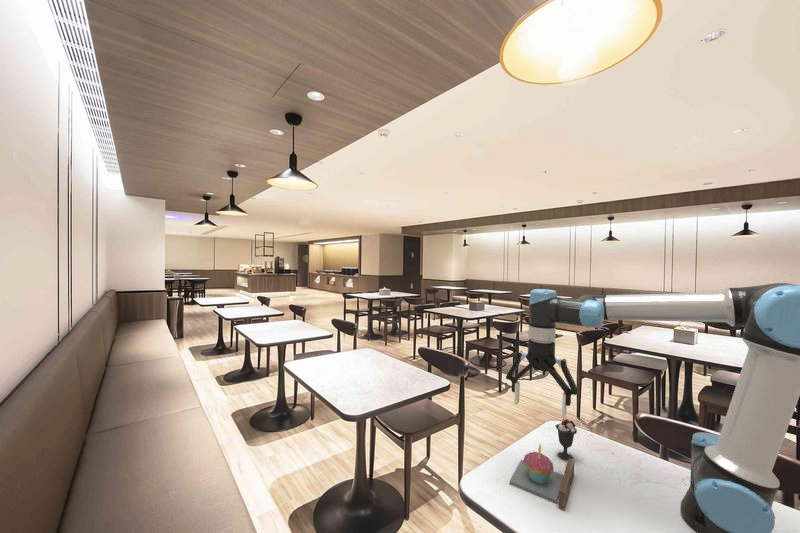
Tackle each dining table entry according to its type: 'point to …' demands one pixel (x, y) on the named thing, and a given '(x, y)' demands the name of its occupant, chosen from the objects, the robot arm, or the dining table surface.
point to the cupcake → (538, 466)
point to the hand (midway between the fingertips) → (539, 409)
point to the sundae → (566, 437)
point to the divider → (566, 484)
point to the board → (542, 490)
